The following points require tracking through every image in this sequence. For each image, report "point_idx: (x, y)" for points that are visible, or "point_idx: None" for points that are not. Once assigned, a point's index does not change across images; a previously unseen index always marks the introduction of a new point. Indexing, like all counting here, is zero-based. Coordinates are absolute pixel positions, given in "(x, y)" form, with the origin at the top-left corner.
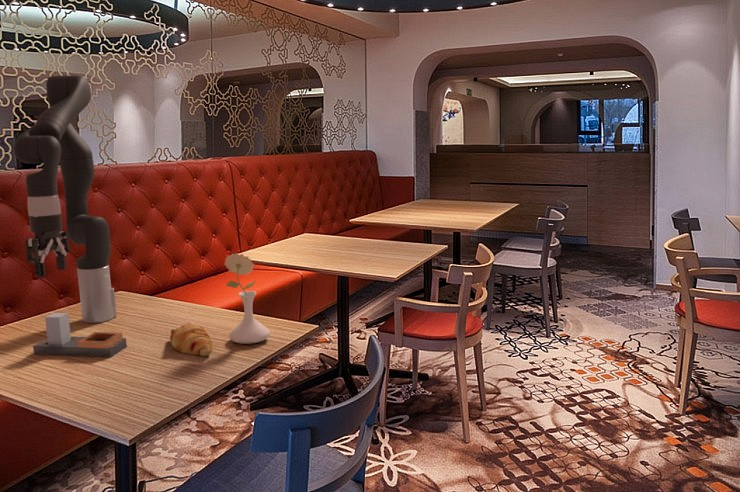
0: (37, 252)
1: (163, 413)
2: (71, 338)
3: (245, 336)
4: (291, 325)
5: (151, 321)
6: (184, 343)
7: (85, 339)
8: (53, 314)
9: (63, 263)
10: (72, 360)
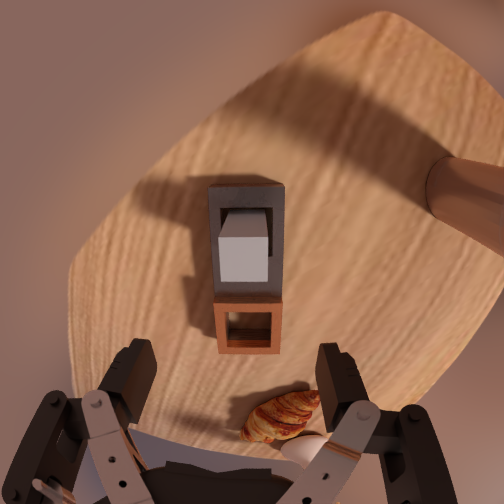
0: (72, 467)
1: None
2: (272, 245)
3: (283, 454)
4: None
5: (420, 307)
6: (249, 425)
7: (229, 311)
8: (247, 246)
9: (320, 397)
10: (195, 286)
